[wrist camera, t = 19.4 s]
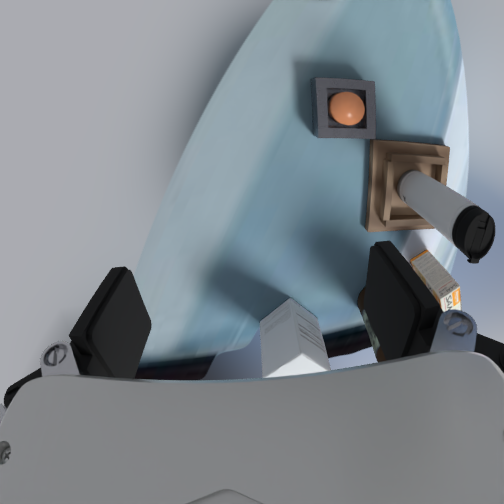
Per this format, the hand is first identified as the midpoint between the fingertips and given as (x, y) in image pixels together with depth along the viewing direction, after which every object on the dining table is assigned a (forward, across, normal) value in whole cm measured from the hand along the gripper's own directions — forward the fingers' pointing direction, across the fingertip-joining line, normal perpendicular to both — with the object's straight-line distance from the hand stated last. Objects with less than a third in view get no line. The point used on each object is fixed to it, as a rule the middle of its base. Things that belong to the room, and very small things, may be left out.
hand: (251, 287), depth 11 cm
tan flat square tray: (+36, -27, +8) cm, 46 cm away
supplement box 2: (+36, -33, +26) cm, 56 cm away
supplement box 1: (+36, -4, +36) cm, 51 cm away
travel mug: (+34, -27, +8) cm, 44 cm away
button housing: (+36, -14, -5) cm, 39 cm away
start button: (+35, -14, -5) cm, 38 cm away
